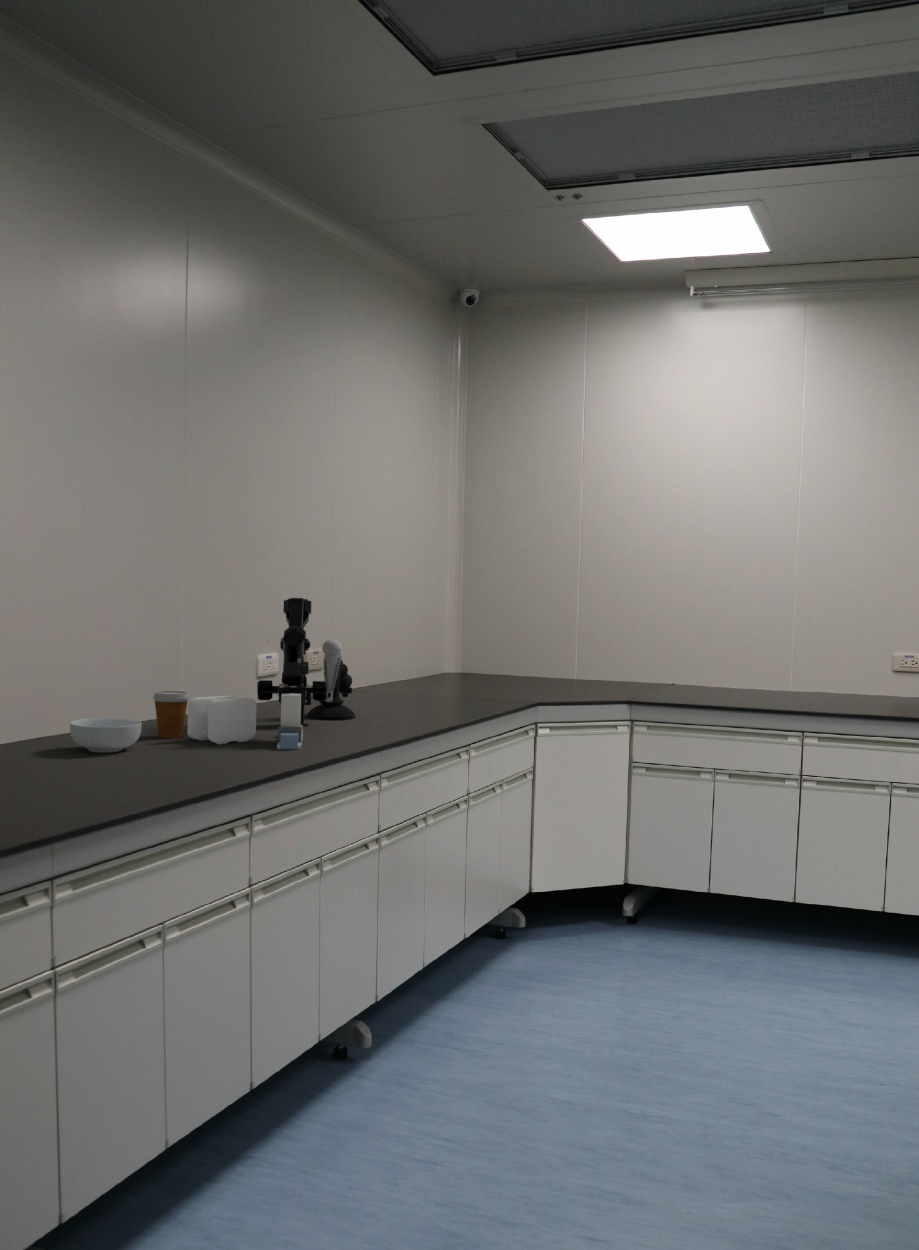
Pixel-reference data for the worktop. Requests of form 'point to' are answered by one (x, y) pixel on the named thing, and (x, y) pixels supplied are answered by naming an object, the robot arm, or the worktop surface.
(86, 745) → the cereal bowl
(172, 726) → the disposable coffee cup
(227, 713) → the cable organizer
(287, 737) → the cord rail
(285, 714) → the grey rectangular box
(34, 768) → the worktop surface
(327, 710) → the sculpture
